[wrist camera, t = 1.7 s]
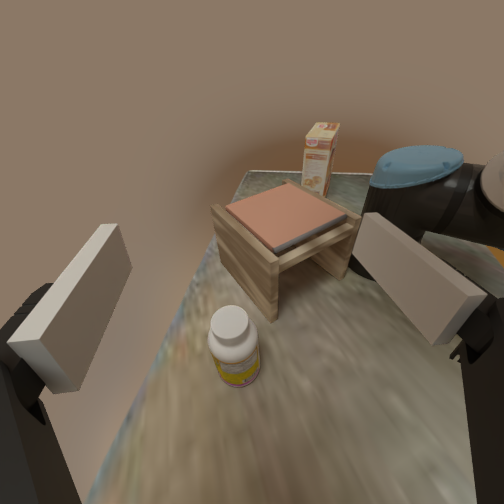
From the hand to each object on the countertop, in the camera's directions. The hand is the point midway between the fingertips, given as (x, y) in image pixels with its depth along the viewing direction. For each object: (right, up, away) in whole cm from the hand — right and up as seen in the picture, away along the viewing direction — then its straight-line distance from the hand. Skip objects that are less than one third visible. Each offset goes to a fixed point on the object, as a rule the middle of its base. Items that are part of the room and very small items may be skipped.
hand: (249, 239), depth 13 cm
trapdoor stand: (+6, -5, +40) cm, 40 cm away
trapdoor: (+6, +6, +29) cm, 31 cm away
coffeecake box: (+21, +18, +64) cm, 69 cm away
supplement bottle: (-2, -19, +24) cm, 31 cm away
